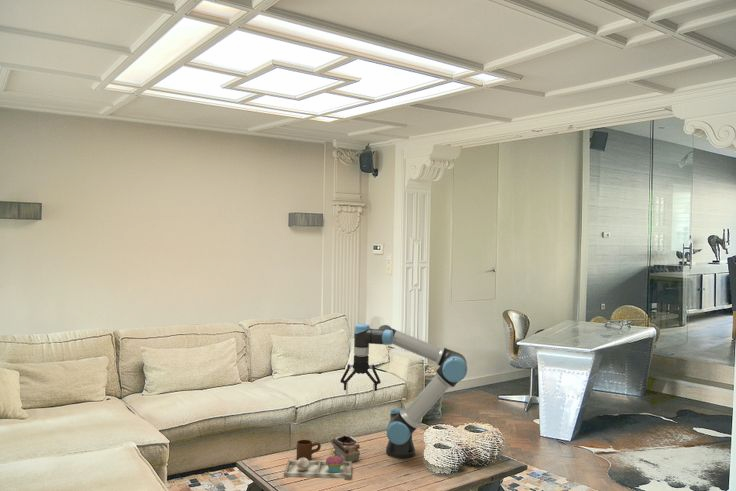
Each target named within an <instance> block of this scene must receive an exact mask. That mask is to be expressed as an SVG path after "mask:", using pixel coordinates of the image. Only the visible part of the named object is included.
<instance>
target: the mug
mask: <svg viewBox="0 0 736 491" xmlns="http://www.w3.org/2000/svg"><path fill="white" fill-rule="evenodd" d="M316 446H317V447H316ZM314 447H316V448H314ZM321 448H322V444H321V443H320V442H318V441H314V442H313V441H312V440H310V439H300V440H297V441H296V460H297V461H298V460H299V459H300V458H303V457H304V458H306V459H308V461H312V459H313V458H312V457H313V454H314V453H317V452H319V451H320V450H321Z"/></svg>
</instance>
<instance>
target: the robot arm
mask: <svg viewBox="0 0 736 491" xmlns="http://www.w3.org/2000/svg"><path fill="white" fill-rule="evenodd" d="M353 334H354V336H353V338H354V339H353V345H354V346H353V364H350V363H347V365H346V366H347V367H346V369H345V371H344V373H343V374H342V377H341V379H340V383H342V384H343V391H345V398H348V394H349V392H348V388H349V383H348V382H349V381H350V380H351V379H352V378H353V376H355V375H356V374H358V375H359V374H361V375H364V374H366V375H367V376H368V378H369V379H370V380H371V382H372V398H373V399H374V398H375V392H377V390H378V385H379V384H381V383H382V382H381V379H380V377H379V375H378V373H377V370H376V369H375V364H373V363H372V364H369V359H370V358H369V354H370V345H382V346H383V345H385V346H387V345H390V346H391V345H394V346H396V347H399V348H401V349H403V350H406V351H408V352H410V353H412V354H415V355H418V356H420V357H422V358H425V359H427V360H430V361H432V362H435V363H436V365H437V366H438V368H437V369H436V370H435V376H434V377H433V378H432V379H431V380H430V381H429V383H428V384H427V385H426V386H425V387H424V388H423V390H421V392H420V393H419V394H418V395H417V396H416V397H415V398H414V400H413V401H411V403H410V404H409V405H408V406H407V407H406V408H397V407H396V408H391V409H390V413H389V415H390V416H389V417H390V418H389V423H388V425H387V427H386V437H387V439H388V442H387V445H386V448H385V454H386V455H387V456H389V457H392V458H396V459H409V458H413V457H414V456H415V455H416V449H415V445H414V441H413V434H414V432H415V431H416V430H417V428H418V427H419V426H418V423H419V422H420V421H421V420H422V419H423V418H424V416H425V415H426V414H427V413H428V412H429V411H430V410H431V409H432V407H433V406H434V405H436V403H437V402H438V401H439V399H441V398H442V396H443V395H444V394H445V393H446V392H447V390H448V389H449V388H455V387H456V385H457V384H458V383H460V382H461V381H463V379H464V378H466V376H467V372H468V365H467V359H466V358H465V356H464V355H463V354H462V353H460V352H457V351H455V350H451V349H448V348H447V347H442V348H441V347H439V346H437V345H433V344H431V343H429V342H427V341H423V340H421V339H419V338H416V337H414V336H412V335H409V334H406V333H405V332H402V331H399V330H396V329H395V328H393V327H391V326H390V325H389V324H382V325H380V326H379V328H371V327H370V325H369V324H367V323H357V324H355V325H354V333H353ZM351 369H353V370H352V372H351V373H350V374H349V375H348V372H349V371H350V370H351ZM369 369H371V370H372V373H373V374H374V376H375V378H374V377H373V376H372V374H371V373H370V372H369ZM347 375H348V376H347ZM346 377H347V378H346Z"/></svg>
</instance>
